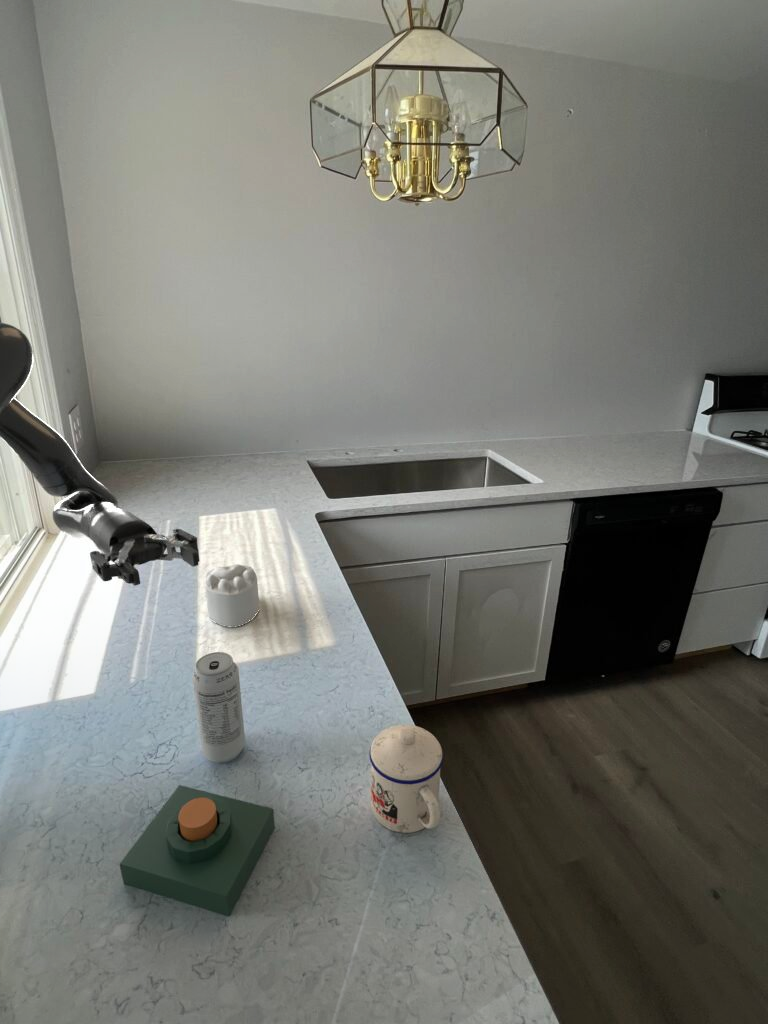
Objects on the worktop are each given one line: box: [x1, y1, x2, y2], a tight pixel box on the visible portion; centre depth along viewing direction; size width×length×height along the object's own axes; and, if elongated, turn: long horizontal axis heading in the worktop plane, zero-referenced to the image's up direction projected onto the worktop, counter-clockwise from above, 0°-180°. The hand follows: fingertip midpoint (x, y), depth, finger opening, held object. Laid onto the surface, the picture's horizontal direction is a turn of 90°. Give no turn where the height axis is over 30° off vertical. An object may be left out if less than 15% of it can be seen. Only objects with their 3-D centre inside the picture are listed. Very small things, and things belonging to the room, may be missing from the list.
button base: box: [119, 784, 276, 918], centre depth 64 cm, size 13×11×5 cm
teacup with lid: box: [368, 724, 444, 834], centre depth 68 cm, size 12×9×12 cm
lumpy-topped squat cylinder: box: [203, 563, 260, 628], centre depth 114 cm, size 10×13×9 cm
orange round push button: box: [179, 798, 217, 841], centre depth 63 cm, size 4×4×2 cm
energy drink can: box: [191, 651, 246, 764], centre depth 77 cm, size 6×6×15 cm
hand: (167, 569), depth 78 cm, fingers open, 8 cm apart
